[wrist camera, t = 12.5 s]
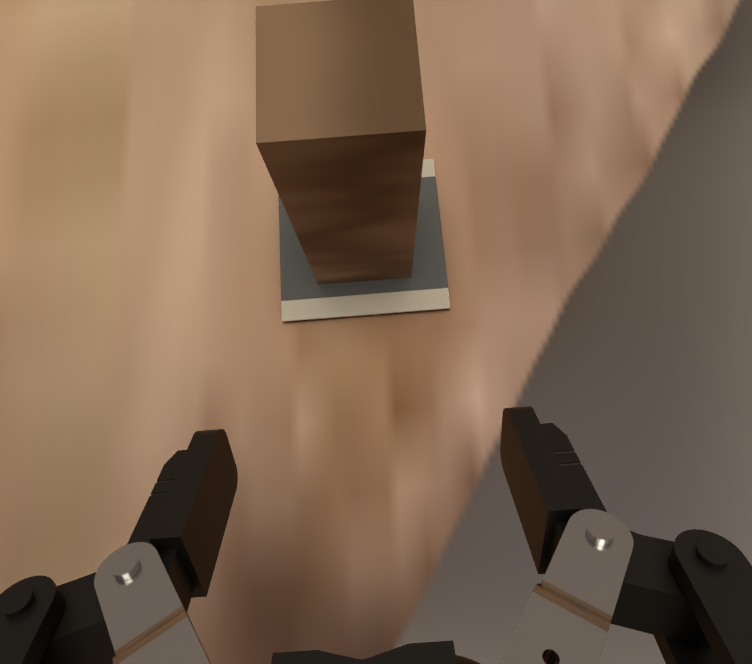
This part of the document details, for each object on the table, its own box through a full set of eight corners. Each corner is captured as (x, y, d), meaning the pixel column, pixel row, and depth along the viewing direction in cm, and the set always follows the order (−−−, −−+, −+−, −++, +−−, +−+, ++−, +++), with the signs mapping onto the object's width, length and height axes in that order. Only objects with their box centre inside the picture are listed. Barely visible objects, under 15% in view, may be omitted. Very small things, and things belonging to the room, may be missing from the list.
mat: (282, 321, 23) (281, 321, 23) (278, 173, 25) (278, 171, 25) (449, 308, 23) (450, 307, 23) (433, 160, 25) (433, 158, 25)
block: (318, 284, 24) (256, 143, 13) (315, 200, 25) (255, 6, 14) (411, 277, 24) (426, 130, 13) (404, 193, 25) (412, -6, 14)
